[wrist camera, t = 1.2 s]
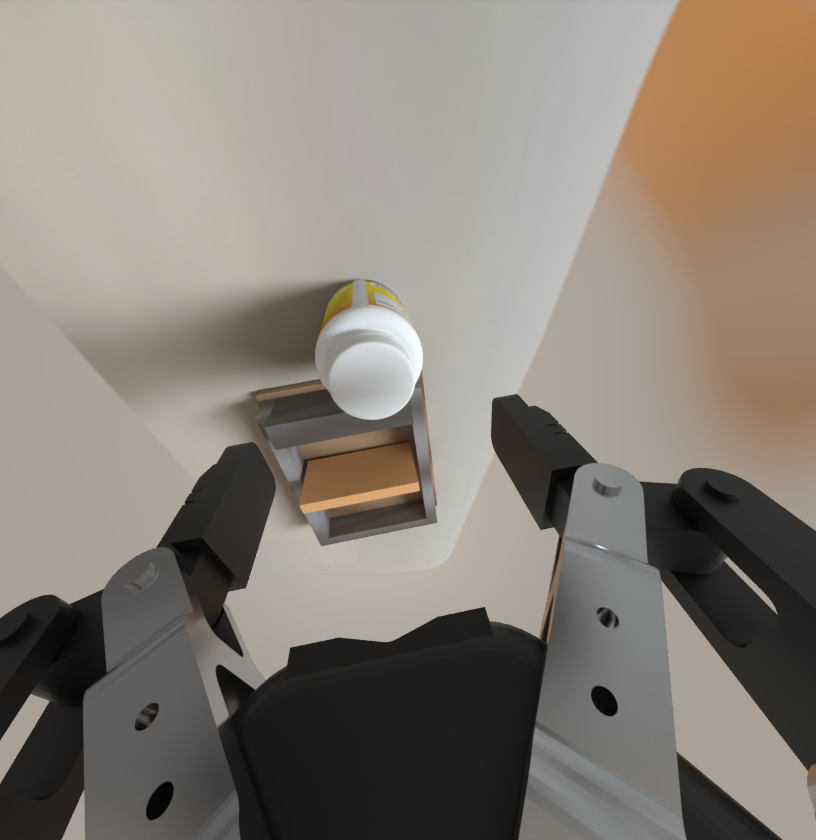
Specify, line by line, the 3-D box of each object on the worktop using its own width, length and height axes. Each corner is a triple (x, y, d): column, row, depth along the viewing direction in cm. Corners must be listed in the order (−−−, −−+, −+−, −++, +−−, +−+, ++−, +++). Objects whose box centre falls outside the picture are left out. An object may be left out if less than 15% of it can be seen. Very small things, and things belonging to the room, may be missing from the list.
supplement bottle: (331, 357, 23) (317, 438, 15) (320, 278, 20) (295, 324, 12) (404, 354, 24) (429, 430, 15) (404, 277, 21) (436, 320, 12)
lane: (257, 390, 24) (238, 425, 20) (419, 361, 24) (431, 390, 20) (321, 522, 34) (316, 563, 30) (435, 500, 34) (445, 537, 30)
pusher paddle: (308, 461, 27) (299, 505, 23) (409, 441, 27) (418, 482, 23) (311, 469, 27) (303, 513, 23) (410, 450, 28) (419, 490, 24)
